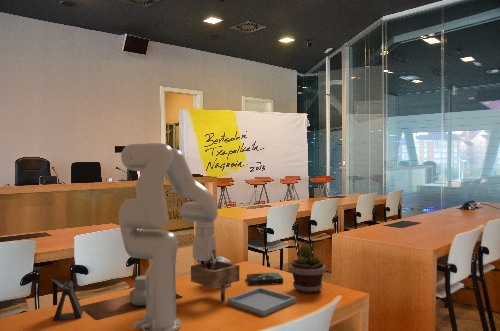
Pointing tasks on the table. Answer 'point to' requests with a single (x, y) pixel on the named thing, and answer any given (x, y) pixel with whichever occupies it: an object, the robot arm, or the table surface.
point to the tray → (261, 301)
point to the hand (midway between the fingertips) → (205, 277)
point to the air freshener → (139, 291)
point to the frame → (215, 274)
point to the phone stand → (74, 302)
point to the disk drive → (264, 278)
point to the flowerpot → (307, 271)
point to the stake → (223, 293)
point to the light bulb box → (223, 261)
